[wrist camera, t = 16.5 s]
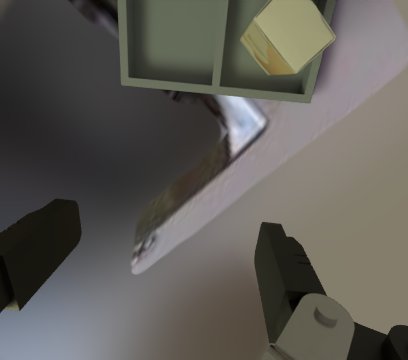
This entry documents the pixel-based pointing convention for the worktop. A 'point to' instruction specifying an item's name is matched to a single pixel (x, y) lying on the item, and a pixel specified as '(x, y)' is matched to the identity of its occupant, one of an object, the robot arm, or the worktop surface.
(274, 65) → the skincare box
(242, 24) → the carton tray
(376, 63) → the worktop surface
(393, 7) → the worktop surface
